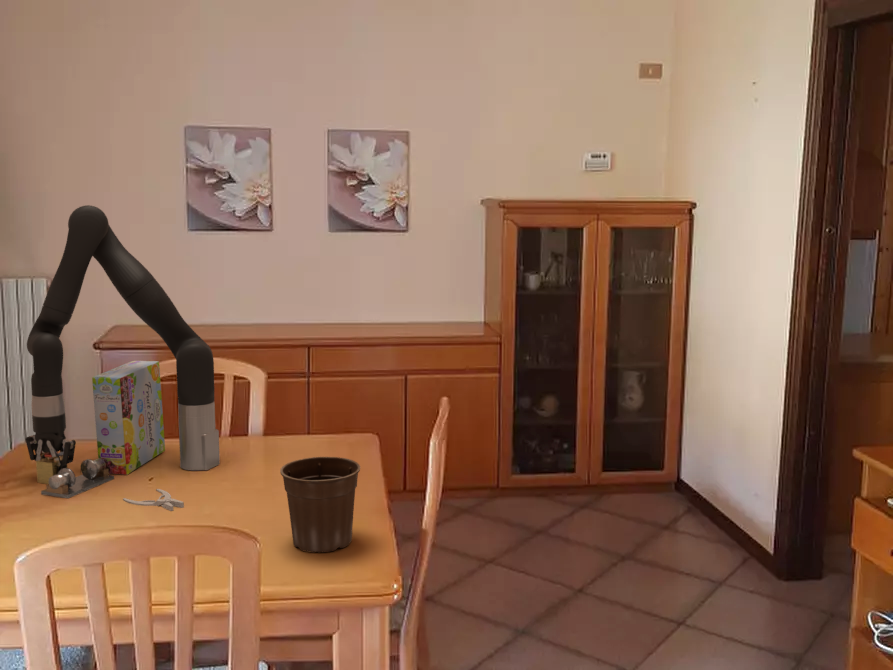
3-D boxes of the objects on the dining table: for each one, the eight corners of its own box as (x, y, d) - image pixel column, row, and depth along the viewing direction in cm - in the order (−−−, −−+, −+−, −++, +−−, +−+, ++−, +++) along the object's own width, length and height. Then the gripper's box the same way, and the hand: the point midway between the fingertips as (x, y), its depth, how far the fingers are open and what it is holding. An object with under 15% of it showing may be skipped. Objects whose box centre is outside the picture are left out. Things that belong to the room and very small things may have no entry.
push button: (68, 479, 231) (66, 451, 230) (53, 484, 226) (51, 457, 225) (52, 476, 233) (50, 449, 232) (37, 482, 228) (35, 454, 227)
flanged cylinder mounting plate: (88, 475, 234) (87, 453, 233) (114, 478, 231) (113, 456, 231) (41, 494, 219) (39, 471, 219) (67, 498, 217) (66, 475, 216)
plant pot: (278, 558, 183) (277, 480, 180) (284, 529, 199) (283, 456, 196) (360, 556, 184) (360, 478, 182) (360, 527, 200) (360, 455, 198)
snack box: (136, 450, 257) (132, 359, 252) (166, 452, 255) (162, 360, 251) (95, 473, 235) (90, 375, 231) (127, 475, 234) (122, 376, 230)
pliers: (158, 485, 223) (195, 498, 214) (158, 491, 223) (196, 505, 214) (121, 495, 216) (158, 509, 206) (122, 501, 216) (158, 516, 207)
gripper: (82, 411, 228) (86, 477, 230) (37, 406, 233) (41, 470, 235) (60, 418, 221) (64, 486, 223) (14, 412, 226) (18, 479, 228)
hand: (52, 478), depth 229 cm, fingers closed on push button, 5 cm apart
